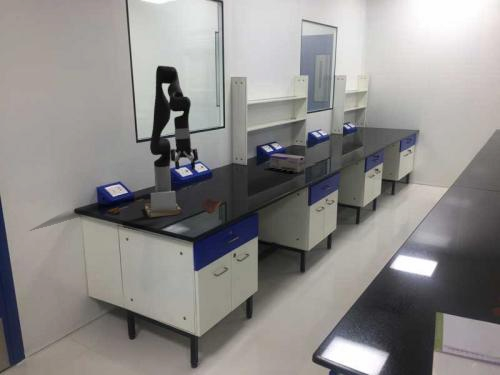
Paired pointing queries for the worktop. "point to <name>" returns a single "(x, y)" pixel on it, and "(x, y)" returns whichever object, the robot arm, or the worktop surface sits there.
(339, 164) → the worktop surface
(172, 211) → the rack
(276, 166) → the surgical sutures box
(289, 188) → the worktop surface
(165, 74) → the robot arm
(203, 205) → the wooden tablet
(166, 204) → the pvc sheet
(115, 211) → the decorative fence
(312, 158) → the worktop surface
